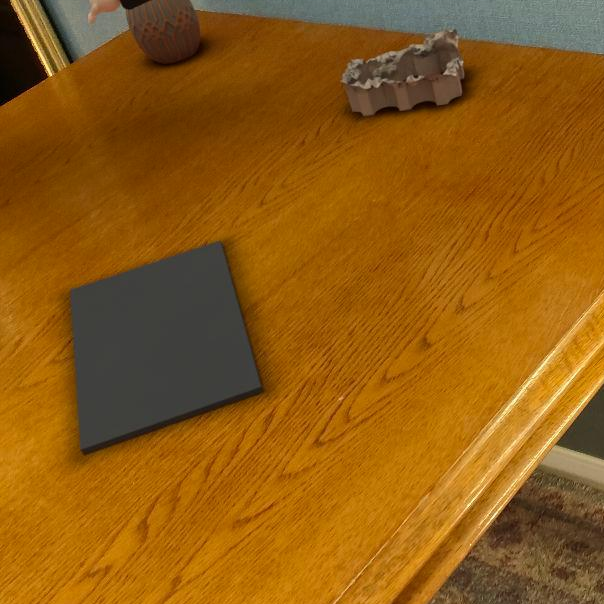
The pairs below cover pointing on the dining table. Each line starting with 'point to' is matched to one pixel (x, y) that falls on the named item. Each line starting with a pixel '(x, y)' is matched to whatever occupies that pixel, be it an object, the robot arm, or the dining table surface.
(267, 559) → the dining table surface
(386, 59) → the egg carton
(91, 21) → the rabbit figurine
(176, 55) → the vase
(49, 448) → the dining table surface
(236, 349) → the mat
